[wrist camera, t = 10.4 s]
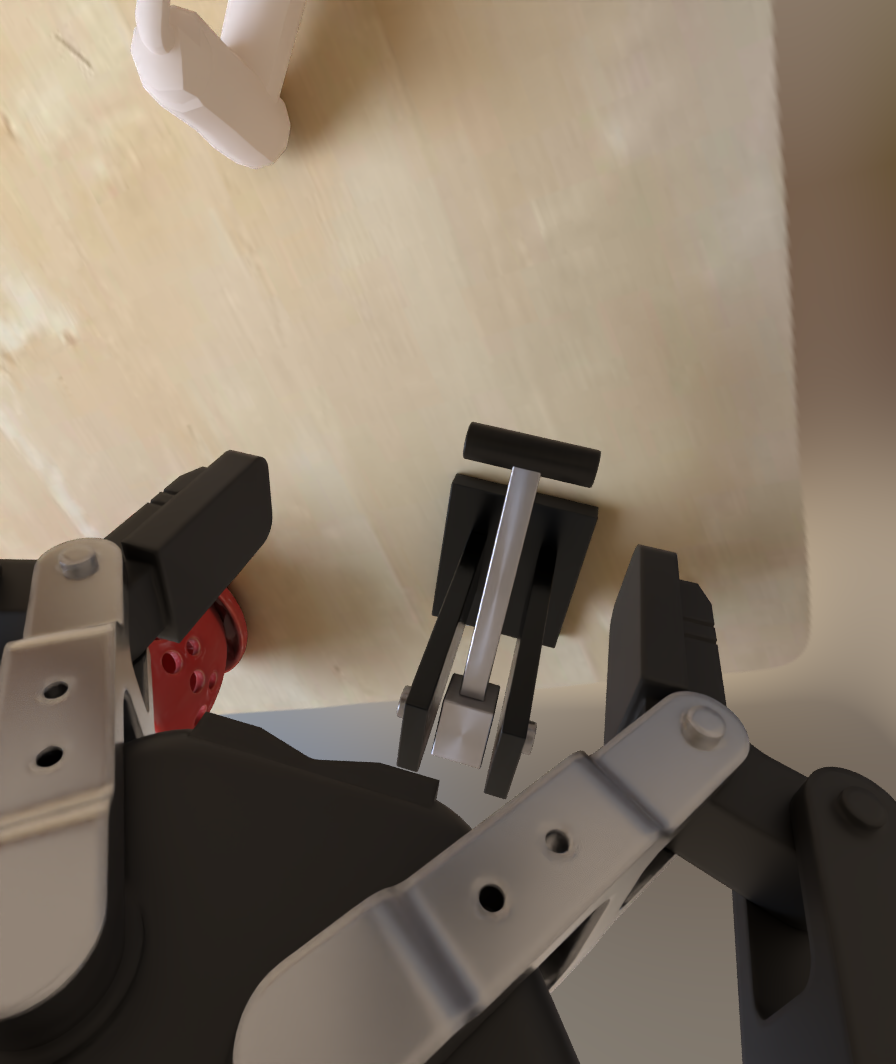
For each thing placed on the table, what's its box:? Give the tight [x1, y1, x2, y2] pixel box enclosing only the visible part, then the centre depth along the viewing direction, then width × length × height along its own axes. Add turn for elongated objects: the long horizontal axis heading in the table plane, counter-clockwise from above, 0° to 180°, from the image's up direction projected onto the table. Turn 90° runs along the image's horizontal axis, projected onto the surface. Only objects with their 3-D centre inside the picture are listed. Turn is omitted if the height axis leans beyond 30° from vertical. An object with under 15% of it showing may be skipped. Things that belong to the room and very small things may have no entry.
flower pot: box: [148, 588, 247, 733], centre depth 41 cm, size 13×13×12 cm
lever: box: [431, 422, 601, 769], centre depth 25 cm, size 14×5×2 cm, turn 173°
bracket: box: [397, 474, 598, 799], centre depth 31 cm, size 10×8×14 cm
